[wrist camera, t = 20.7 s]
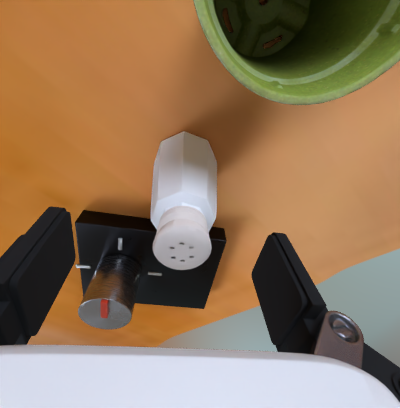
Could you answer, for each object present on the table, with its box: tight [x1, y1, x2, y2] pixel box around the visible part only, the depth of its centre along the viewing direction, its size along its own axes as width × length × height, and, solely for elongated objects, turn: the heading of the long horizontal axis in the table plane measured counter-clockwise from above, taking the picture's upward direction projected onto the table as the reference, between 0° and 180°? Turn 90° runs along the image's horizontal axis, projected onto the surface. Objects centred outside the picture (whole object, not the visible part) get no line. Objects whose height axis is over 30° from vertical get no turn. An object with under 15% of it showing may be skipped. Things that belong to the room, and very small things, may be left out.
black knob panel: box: [75, 210, 226, 309], centre depth 25 cm, size 14×11×2 cm
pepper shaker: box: [150, 131, 217, 270], centre depth 16 cm, size 5×5×11 cm
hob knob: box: [78, 255, 142, 329], centre depth 22 cm, size 4×4×5 cm
